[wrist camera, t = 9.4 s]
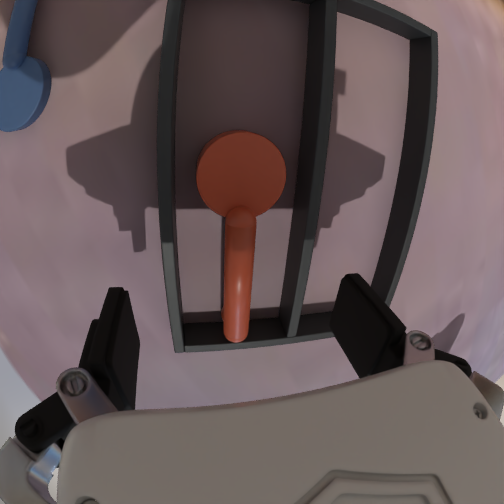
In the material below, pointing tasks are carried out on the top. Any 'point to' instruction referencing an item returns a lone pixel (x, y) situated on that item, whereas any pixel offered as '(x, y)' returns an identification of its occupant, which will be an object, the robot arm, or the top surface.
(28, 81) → the blue spoon
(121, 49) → the top surface
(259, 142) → the terracotta spoon
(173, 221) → the sorting tray
